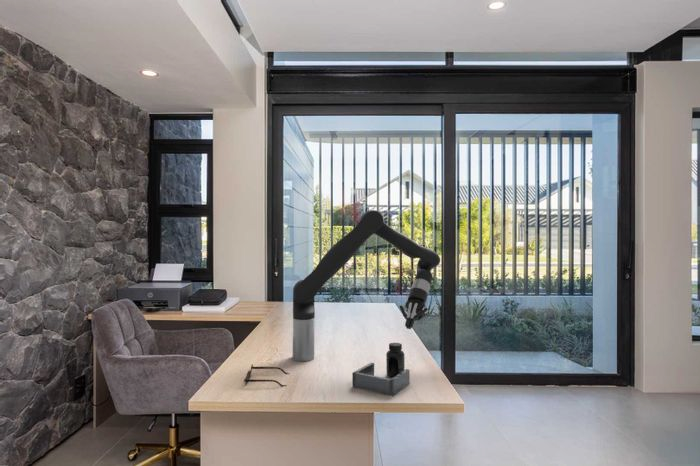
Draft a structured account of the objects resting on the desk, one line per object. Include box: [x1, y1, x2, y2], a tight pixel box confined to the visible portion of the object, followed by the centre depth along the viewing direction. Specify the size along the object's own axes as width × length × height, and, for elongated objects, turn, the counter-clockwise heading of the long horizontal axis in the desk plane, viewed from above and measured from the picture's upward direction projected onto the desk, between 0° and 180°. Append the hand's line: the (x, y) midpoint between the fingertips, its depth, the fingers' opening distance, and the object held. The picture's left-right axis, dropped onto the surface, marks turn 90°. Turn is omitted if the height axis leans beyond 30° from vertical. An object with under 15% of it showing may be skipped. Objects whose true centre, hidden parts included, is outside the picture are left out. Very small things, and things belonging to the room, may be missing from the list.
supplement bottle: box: [385, 342, 406, 379], centre depth 160 cm, size 7×7×12 cm
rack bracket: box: [351, 362, 410, 397], centre depth 150 cm, size 14×15×5 cm
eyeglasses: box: [243, 364, 290, 388], centre depth 154 cm, size 15×15×5 cm
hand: (408, 327), depth 169 cm, fingers closed
